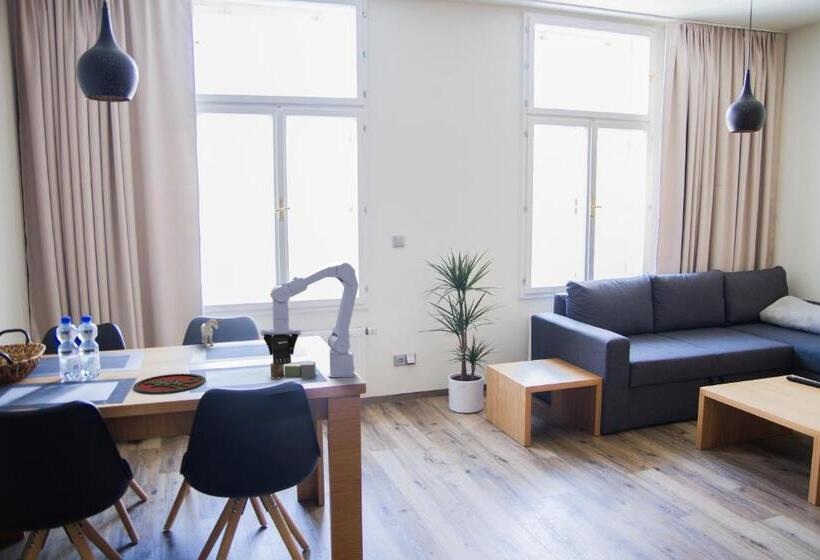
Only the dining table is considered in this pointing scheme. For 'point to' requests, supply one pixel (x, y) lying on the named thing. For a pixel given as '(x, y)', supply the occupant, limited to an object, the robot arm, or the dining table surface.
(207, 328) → the unicorn figurine
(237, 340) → the dining table surface
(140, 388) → the decorative plate
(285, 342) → the battery
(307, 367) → the charcoal cube
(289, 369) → the olive block
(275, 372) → the walnut cylinder
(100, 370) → the dining table surface
